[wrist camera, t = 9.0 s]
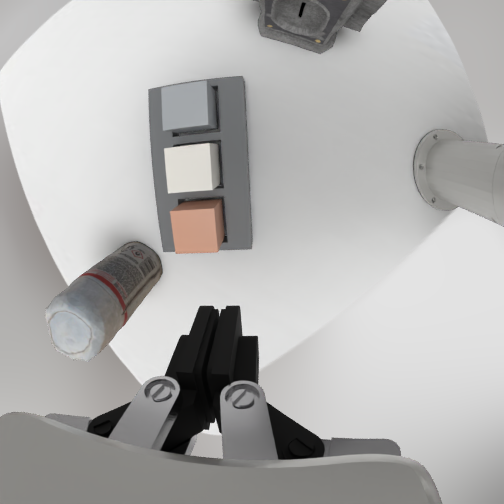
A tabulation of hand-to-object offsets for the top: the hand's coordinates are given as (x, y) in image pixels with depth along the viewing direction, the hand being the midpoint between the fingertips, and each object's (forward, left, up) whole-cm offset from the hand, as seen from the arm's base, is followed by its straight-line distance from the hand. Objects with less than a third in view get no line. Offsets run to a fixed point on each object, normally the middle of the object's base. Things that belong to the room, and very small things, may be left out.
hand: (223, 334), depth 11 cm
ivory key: (+6, -6, -25) cm, 27 cm away
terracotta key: (+6, +1, -25) cm, 26 cm away
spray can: (+18, +8, -27) cm, 34 cm away
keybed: (+6, -6, -27) cm, 28 cm away
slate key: (+6, -13, -25) cm, 29 cm away
